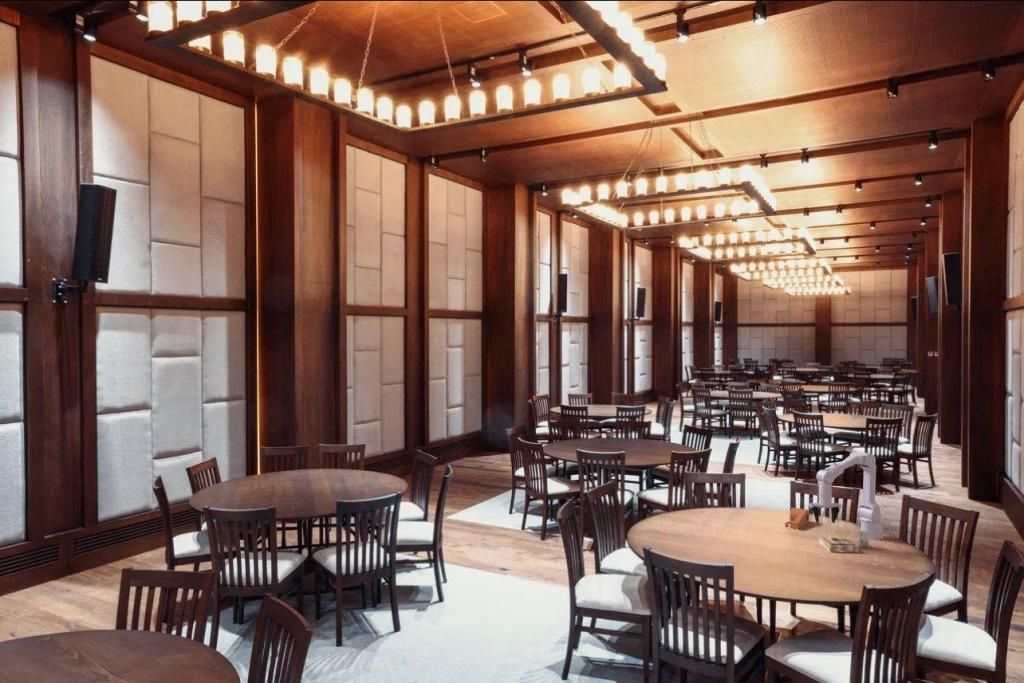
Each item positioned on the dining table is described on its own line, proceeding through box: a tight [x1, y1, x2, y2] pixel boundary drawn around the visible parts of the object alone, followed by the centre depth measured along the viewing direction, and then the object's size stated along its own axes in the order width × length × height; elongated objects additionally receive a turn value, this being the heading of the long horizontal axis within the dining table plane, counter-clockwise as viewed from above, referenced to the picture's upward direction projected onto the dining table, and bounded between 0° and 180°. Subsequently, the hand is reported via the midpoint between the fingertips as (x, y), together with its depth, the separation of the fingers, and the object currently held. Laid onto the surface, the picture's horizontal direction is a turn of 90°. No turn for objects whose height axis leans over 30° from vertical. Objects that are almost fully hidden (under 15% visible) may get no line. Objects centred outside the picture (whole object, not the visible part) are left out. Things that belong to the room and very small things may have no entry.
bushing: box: [858, 530, 870, 549], centre depth 333 cm, size 4×4×7 cm
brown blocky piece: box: [784, 507, 811, 530], centre depth 372 cm, size 20×8×8 cm, turn 140°
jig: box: [818, 536, 859, 554], centre depth 331 cm, size 13×14×4 cm
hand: (825, 522), depth 339 cm, fingers open, 7 cm apart
